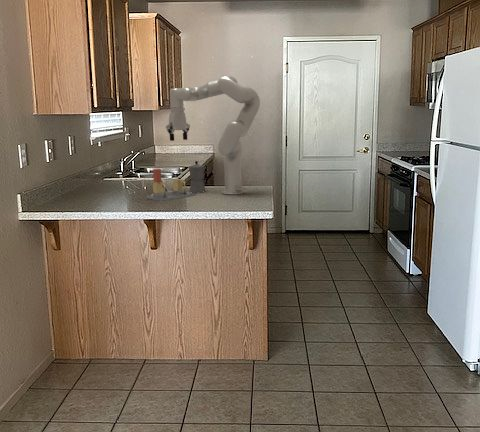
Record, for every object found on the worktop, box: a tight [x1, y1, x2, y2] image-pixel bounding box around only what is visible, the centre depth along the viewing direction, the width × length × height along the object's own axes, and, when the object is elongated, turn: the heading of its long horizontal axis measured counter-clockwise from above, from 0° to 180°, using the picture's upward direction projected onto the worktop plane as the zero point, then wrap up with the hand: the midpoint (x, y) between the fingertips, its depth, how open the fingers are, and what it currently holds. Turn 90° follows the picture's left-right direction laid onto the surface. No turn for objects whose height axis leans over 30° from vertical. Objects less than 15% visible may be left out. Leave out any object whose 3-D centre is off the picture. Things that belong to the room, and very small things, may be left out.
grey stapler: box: [161, 177, 171, 192], centre depth 321 cm, size 17×5×10 cm, turn 20°
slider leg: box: [152, 168, 166, 196], centre depth 299 cm, size 8×4×14 cm, turn 45°
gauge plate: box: [145, 178, 197, 202], centre depth 305 cm, size 14×24×9 cm, turn 135°
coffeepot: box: [188, 161, 206, 194], centre depth 321 cm, size 15×9×18 cm, turn 176°
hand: (178, 140), depth 318 cm, fingers open, 9 cm apart
